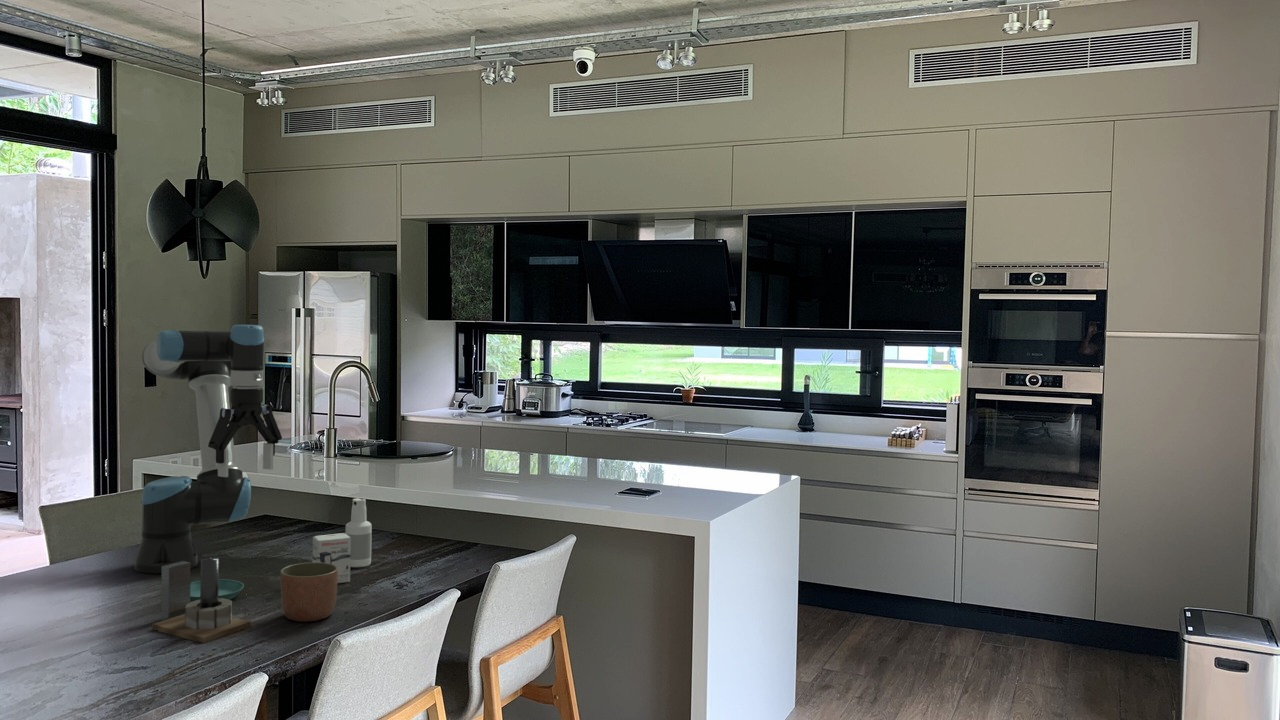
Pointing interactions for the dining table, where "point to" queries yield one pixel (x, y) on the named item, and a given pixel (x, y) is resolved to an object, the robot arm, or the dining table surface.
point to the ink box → (334, 553)
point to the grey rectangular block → (175, 589)
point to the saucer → (226, 589)
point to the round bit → (209, 582)
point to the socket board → (198, 634)
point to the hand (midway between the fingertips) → (246, 472)
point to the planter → (308, 591)
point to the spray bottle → (359, 535)
